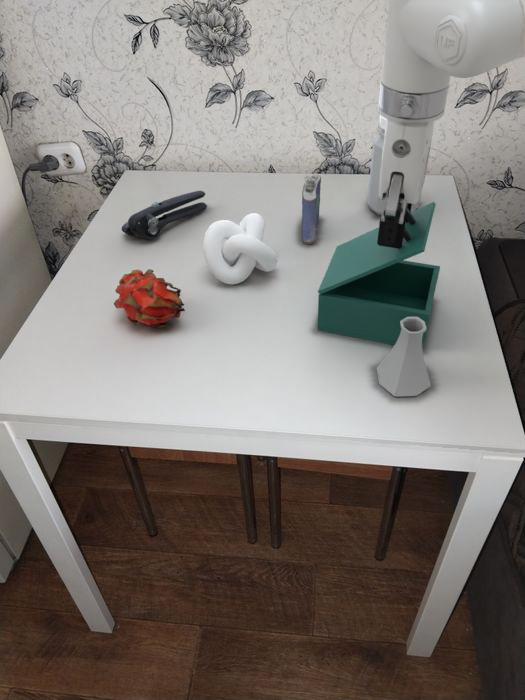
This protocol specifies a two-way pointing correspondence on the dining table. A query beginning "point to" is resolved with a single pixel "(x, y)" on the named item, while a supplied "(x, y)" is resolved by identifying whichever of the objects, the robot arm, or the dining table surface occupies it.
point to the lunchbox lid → (377, 250)
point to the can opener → (150, 226)
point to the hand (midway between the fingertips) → (393, 231)
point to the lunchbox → (380, 302)
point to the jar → (378, 171)
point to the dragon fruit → (148, 299)
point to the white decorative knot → (237, 249)
